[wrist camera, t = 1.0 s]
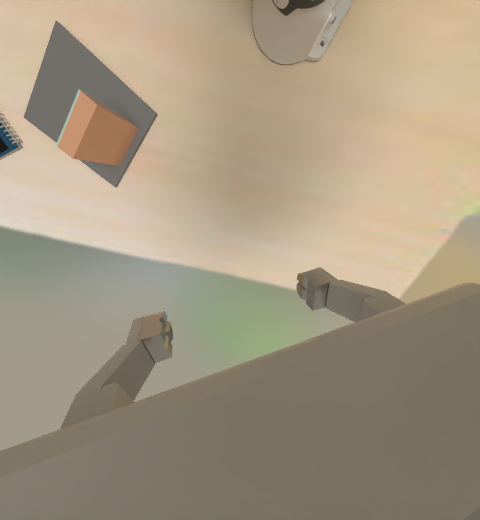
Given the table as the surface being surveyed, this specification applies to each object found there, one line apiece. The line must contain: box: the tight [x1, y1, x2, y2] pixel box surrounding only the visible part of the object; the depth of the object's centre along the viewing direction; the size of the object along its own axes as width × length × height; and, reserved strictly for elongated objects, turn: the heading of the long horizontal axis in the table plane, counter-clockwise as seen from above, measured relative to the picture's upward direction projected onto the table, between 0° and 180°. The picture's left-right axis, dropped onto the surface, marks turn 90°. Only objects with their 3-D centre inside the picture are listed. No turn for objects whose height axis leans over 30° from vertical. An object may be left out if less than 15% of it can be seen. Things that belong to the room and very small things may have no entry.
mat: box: [24, 21, 157, 187], centre depth 40 cm, size 20×22×1 cm
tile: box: [56, 89, 139, 166], centre depth 36 cm, size 10×3×13 cm, turn 139°
